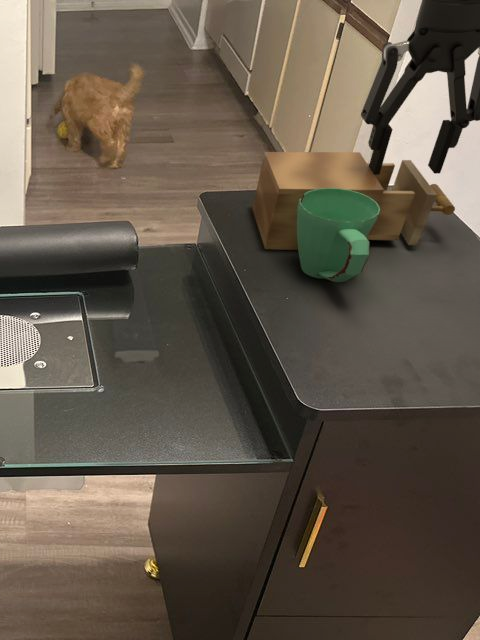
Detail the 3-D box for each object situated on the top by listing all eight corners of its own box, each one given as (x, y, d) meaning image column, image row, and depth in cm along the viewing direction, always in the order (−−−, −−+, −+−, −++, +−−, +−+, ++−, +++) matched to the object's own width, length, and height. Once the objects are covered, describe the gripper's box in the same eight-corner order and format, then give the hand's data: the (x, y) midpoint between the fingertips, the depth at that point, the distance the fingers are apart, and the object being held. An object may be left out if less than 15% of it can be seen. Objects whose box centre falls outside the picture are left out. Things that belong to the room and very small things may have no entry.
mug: (273, 252, 106) (289, 189, 99) (343, 250, 105) (363, 186, 99) (305, 310, 95) (325, 242, 88) (383, 308, 94) (409, 239, 88)
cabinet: (342, 210, 114) (359, 152, 108) (363, 251, 105) (384, 189, 99) (252, 209, 116) (264, 151, 110) (264, 249, 107) (279, 188, 101)
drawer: (422, 208, 112) (441, 160, 106) (448, 245, 103) (470, 195, 98) (308, 206, 114) (321, 159, 109) (324, 243, 105) (339, 193, 100)
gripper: (379, 3, 87) (334, 183, 102) (567, -7, 83) (492, 180, 98) (363, -12, 92) (322, 160, 107) (538, -22, 89) (471, 157, 104)
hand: (403, 169), depth 103 cm, fingers open, 7 cm apart
